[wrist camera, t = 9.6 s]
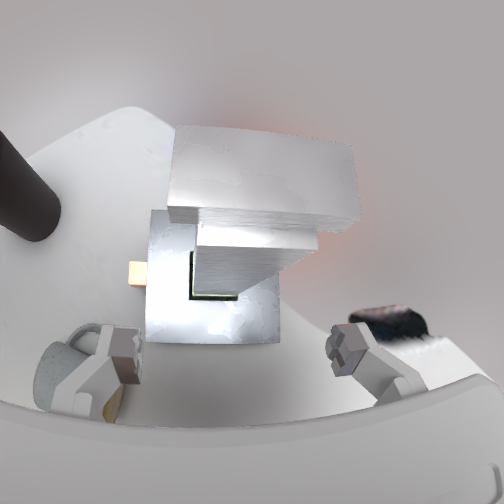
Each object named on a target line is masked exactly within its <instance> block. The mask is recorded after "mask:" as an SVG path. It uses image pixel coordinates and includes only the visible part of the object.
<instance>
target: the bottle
mask: <svg viewBox="0 0 504 504" xmlns="http://www.w3.org/2000/svg"><path fill="white" fill-rule="evenodd" d="M59 217H60V203H59V199H58V197H57V196H56V194H55V193H54V192H53V191H52V190H51V189H50V188H49V186H48V185H47V184H46V183H45V182H44V181H43V180H42V179H41V178H40V177H39V175H38V174H37V173H36V172H35V171H34V170H33V169H32V168H31V166H30V165H29V164H28V163H27V162H26V161H25V160H24V158H23V157H22V156H21V155H20V154H19V152H18V151H17V150H16V149H15V148H14V147H13V145H12V144H11V143H10V142H9V140H8V139H7V138H6V137H5V135H4V134H3V133H2V132H1V131H0V224H1V225H2V226H4V227H6V228H7V229H9V230H11V231H12V232H14V233H16V234H17V235H19V236H21V237H23V238H24V239H26V240H30V241H39V240H42V239H44V238H46V237H47V236H48V235H49V234H50V233H51V232H52V231H53V230H54V228H55V227H56V225H57V223H58V220H59Z"/></svg>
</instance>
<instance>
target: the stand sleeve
mask: <svg viewBox="0 0 504 504" xmlns="http://www.w3.org/2000/svg"><path fill="white" fill-rule="evenodd" d="M195 232H196V224H178V223H170V219H169V213H168V210H152V212H151V222H150V234H149V247H148V263H147V262H130V269H129V284H130V285H131V286H135V287H146V323H145V342H162V343H193V344H251V343H280V306H279V272H278V273H276V274H274V275H273V276H271V277H269V278H267V279H265V280H263V281H262V282H260V283H258V284H256V285H254V286H253V287H251V288H249V289H247V290H245V291H243V292H242V293H240V294H238V295H237V296H236V297H232V298H230V301H197V300H189V279H190V263H193V256H194V248H195Z"/></svg>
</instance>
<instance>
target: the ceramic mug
mask: <svg viewBox="0 0 504 504" xmlns="http://www.w3.org/2000/svg"><path fill="white" fill-rule="evenodd" d="M101 329H102V326H101V325H97V324H87V325H84V326H82V327H80V328H78V329H77V330H76V331H75V332H74V333H73V334H72V335H71V336H70V338H69V339H68V341H67V343H66V344H63V343H61V342H58V341H57V342H54V343H52V344H51V345H50V346H49V347H48V348H47V349H46V351H45V352H44V354H43V356H42V358H41V360H40V363H39V364H38V367H37V370H36V374H35V378H34V384H33V398H34V402H35V404H36V405H37V407H38V408H40V409H42V410H44V411H46V412H48V413H50V408H51V404H52V400H53V396H54V392H55V388H56V387H57V386H58V385H59V384H60V383H61V382H62V381H63V380H64V379H65V378H66V377H68V376H69V375H70V374H71V373H72V372H73V371H74V370H75V369H76V368H77V367H79V366H80V365H81V364H82V363H83V362H84V361H85V360H86V359H87V358H88V357H90V356H88V355H86V354H84V353H82V352H80V351H78V350H76V349H74V348H72V346H73V344H74V343H75V341H76V340H77V339H78V338H79V337H80V336H81V335H82V334H84V333H85V332H88V331H91V332H96V333H98V334H100V332H101ZM120 384H121V383H120ZM123 389H124V384H121V385H120V386H119V387H118V389H117V390H116V391H115V392H114V394H113V395H112V396H111V397H110V399H109V400H108V401H107V403H106V404H105V405H104V406H103V408H102V409H101V410H100V412H101V414H102V416H103V417H104V419H105V421H106V423H115V420H116V417H117V414H118V411H119V407H120V403H121V399H122V394H123Z"/></svg>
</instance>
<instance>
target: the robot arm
mask: <svg viewBox="0 0 504 504" xmlns="http://www.w3.org/2000/svg"><path fill="white" fill-rule="evenodd" d="M331 333H332V335H331V336H329V337H328V338H327V341H326V345H325V350H326V354H327V357H328V358H329V359H330V360H331V361H332V364H331V367H332V370H333V372H334V374H335V377H339V376H347V375H352V376H353V377H354V378H355V379H356V380H357V381H358V382H359V383H360V384H361V385H362V386H363V387H364V388H366V389H367V390H368V391H369V392H370V393H371V394H372V395H373V396H374V397H375V398H376V399H378V401H377V402H376V403H375V404H374V405H373V407H370V408H366V409H361V410H357V411H352V412H347V413H342V414H337V415H332V416H326V417H320V418H314V419H308V420H301V421H293V422H285V423H276V424H267V425H255V426H241V427H220V428H169V427H149V426H135V425H124V424H114V423H106V421H105V419H104V417H103V416H102V414H101V412H100V410H101V409H102V408H103V406H104V405H105V404H106V403H107V401H108V400H109V399H110V397H111V396H112V395H113V394H114V392H115V391H116V390H117V389H118V387H119V386H120V385H121V384H140V383H141V373H142V371H141V366H140V365H141V364H142V363H143V343H142V340H141V339H140V335H141V332H140V328H139V327H131V326H120V325H107V324H104V325H103V326H102V329H101V332H100V336H99V340H98V344H97V348H96V352H95V355H91V356H90V357H88V358H87V359H86V360H85V361H84V362H83V363H82V364H81V365H80V366H79V367H77V368H76V369H75V370H74V371H73V372H72V373H71V374H70V375H69V376H68V377H66V378H65V379H64V380H63V381H62V382H61V383H60V384H59V385H58V386H57V387H56V388H55V392H54V396H53V400H52V404H51V408H50V413H47V412H43V411H38V410H34V409H30V408H26V407H22V406H19V405H15V404H11V403H8V402H5V401H1V400H0V504H504V392H503V391H502V389H501V388H500V387H499V386H498V385H497V384H496V383H494V382H493V381H491V380H490V379H488V378H487V377H485V376H483V375H481V374H473V375H471V376H468V377H466V378H463V379H461V380H458V381H456V382H453V383H450V384H447V385H445V386H442V387H439V388H436V389H433V390H430V391H429V390H428V388H427V387H426V385H425V383H424V381H423V379H422V378H421V376H420V374H419V372H418V371H416V370H415V369H413V368H412V367H410V366H409V365H407V364H406V363H404V362H403V361H401V360H400V359H398V358H397V357H395V356H394V355H392V354H391V353H389V352H388V351H386V350H385V349H384V348H379V346H378V344H377V342H376V341H375V339H374V337H373V335H372V333H371V332H370V330H369V328H368V326H367V325H366V324H365V323H364V322H363V323H351V324H340V325H334V326H333V327H332V329H331ZM120 383H121V384H120Z"/></svg>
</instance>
